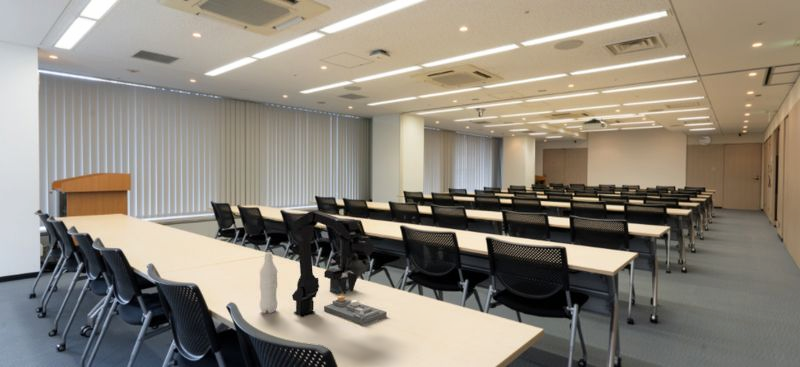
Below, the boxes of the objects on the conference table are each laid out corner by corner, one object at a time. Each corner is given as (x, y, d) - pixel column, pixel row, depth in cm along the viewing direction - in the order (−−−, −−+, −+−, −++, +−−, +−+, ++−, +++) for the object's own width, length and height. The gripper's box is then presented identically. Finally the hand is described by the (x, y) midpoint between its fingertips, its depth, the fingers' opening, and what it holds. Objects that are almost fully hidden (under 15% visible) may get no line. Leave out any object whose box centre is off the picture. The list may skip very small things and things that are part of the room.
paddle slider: (360, 317, 157) (360, 310, 157) (354, 316, 159) (354, 308, 159) (363, 316, 158) (363, 309, 158) (358, 314, 160) (358, 307, 160)
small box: (338, 294, 195) (338, 272, 195) (329, 291, 199) (329, 270, 199) (353, 289, 203) (353, 268, 203) (344, 287, 207) (344, 266, 207)
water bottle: (271, 315, 166) (271, 255, 165) (256, 313, 167) (256, 254, 166) (280, 309, 173) (280, 251, 172) (265, 308, 174) (265, 250, 173)
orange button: (340, 303, 171) (340, 298, 171) (335, 301, 174) (335, 296, 174) (346, 301, 174) (346, 296, 174) (341, 299, 176) (341, 295, 176)
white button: (354, 307, 165) (354, 303, 165) (349, 306, 168) (349, 301, 168) (360, 305, 168) (360, 301, 168) (355, 304, 170) (355, 299, 170)
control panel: (363, 325, 155) (363, 316, 155) (324, 310, 171) (324, 302, 171) (386, 316, 165) (386, 308, 165) (347, 303, 181) (347, 295, 181)
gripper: (343, 259, 141) (342, 303, 142) (380, 251, 155) (379, 291, 156) (323, 254, 149) (323, 296, 149) (360, 248, 163) (360, 286, 163)
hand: (347, 292), depth 154 cm, fingers open, 3 cm apart
